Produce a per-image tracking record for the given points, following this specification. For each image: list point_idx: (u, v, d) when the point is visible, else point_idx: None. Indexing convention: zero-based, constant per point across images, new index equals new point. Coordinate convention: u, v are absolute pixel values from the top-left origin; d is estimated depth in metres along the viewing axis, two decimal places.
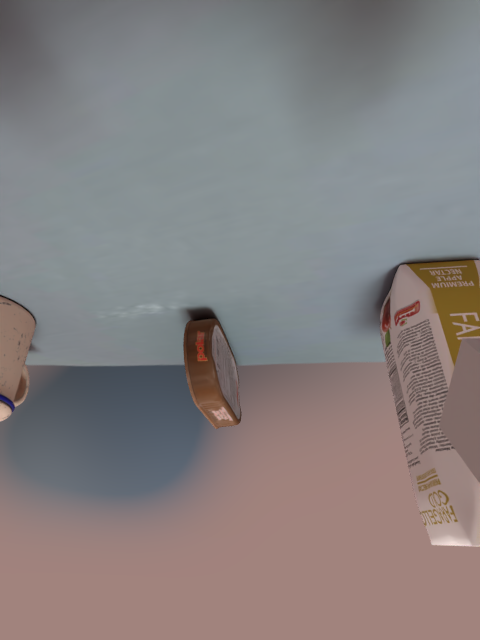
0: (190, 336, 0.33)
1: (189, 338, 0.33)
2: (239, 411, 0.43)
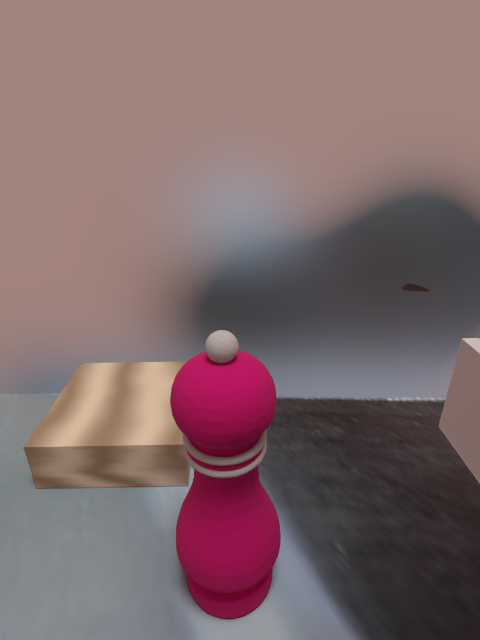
0: None
1: None
2: None
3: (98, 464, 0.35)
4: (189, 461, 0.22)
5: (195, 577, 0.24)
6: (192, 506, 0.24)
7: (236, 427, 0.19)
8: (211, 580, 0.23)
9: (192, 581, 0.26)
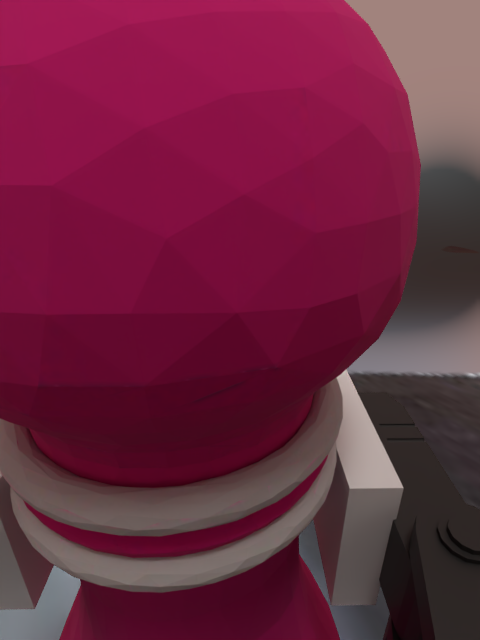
0: None
1: None
2: None
3: None
4: (14, 500, 0.05)
5: None
6: (74, 638, 0.07)
7: (199, 263, 0.02)
8: None
9: None
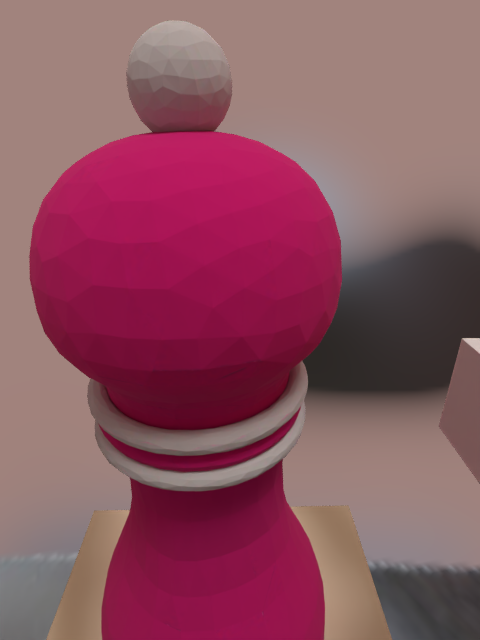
0: None
1: None
2: None
3: None
4: (102, 446, 0.08)
5: None
6: (127, 553, 0.10)
7: (225, 317, 0.05)
8: None
9: None
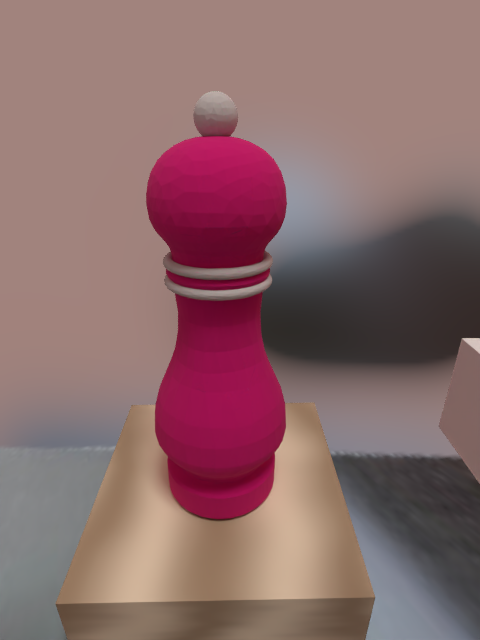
0: None
1: None
2: None
3: (200, 628, 0.18)
4: (171, 286, 0.17)
5: (177, 456, 0.19)
6: (175, 365, 0.19)
7: (234, 204, 0.14)
8: (199, 455, 0.18)
9: (175, 475, 0.21)
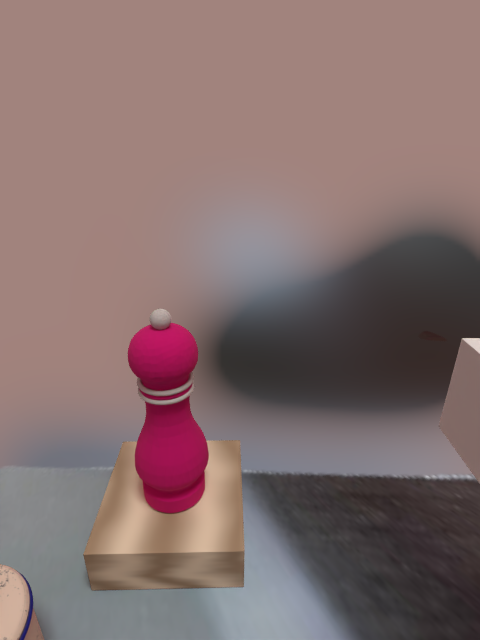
0: None
1: None
2: None
3: (157, 568, 0.35)
4: (140, 396, 0.34)
5: (146, 479, 0.35)
6: (144, 431, 0.36)
7: (167, 368, 0.31)
8: (156, 479, 0.35)
9: (146, 489, 0.38)
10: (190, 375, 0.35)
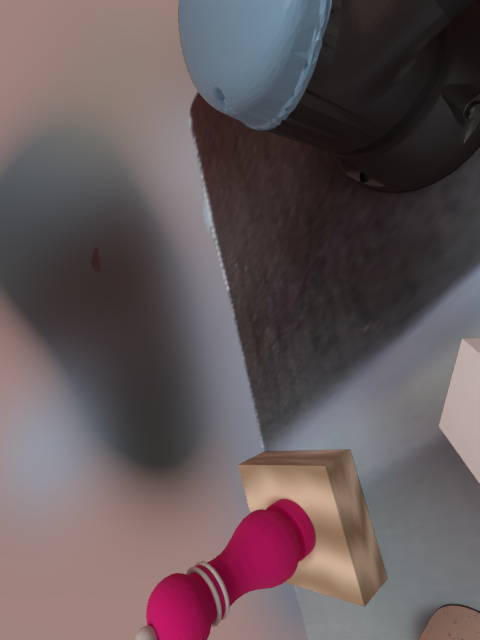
0: None
1: None
2: None
3: (357, 532, 0.41)
4: (225, 617, 0.34)
5: (294, 570, 0.39)
6: None
7: (194, 616, 0.31)
8: (291, 562, 0.38)
9: (301, 558, 0.42)
10: (193, 571, 0.35)
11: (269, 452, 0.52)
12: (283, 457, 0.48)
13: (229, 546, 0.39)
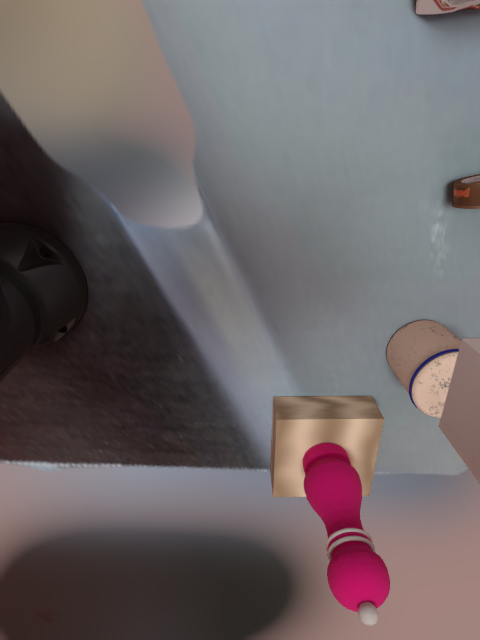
0: (454, 201, 0.41)
1: (454, 202, 0.40)
2: None
3: (332, 408, 0.52)
4: (369, 535, 0.41)
5: (350, 467, 0.48)
6: (358, 505, 0.45)
7: (354, 561, 0.37)
8: (342, 467, 0.47)
9: (347, 459, 0.51)
10: (330, 555, 0.41)
11: (270, 465, 0.60)
12: (272, 453, 0.56)
13: (322, 519, 0.45)
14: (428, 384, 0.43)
